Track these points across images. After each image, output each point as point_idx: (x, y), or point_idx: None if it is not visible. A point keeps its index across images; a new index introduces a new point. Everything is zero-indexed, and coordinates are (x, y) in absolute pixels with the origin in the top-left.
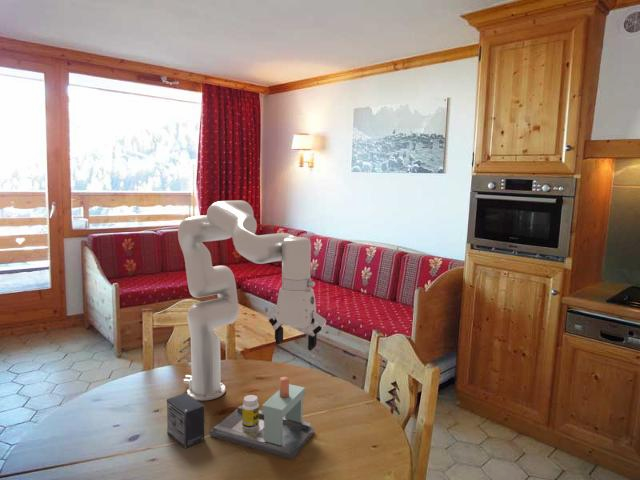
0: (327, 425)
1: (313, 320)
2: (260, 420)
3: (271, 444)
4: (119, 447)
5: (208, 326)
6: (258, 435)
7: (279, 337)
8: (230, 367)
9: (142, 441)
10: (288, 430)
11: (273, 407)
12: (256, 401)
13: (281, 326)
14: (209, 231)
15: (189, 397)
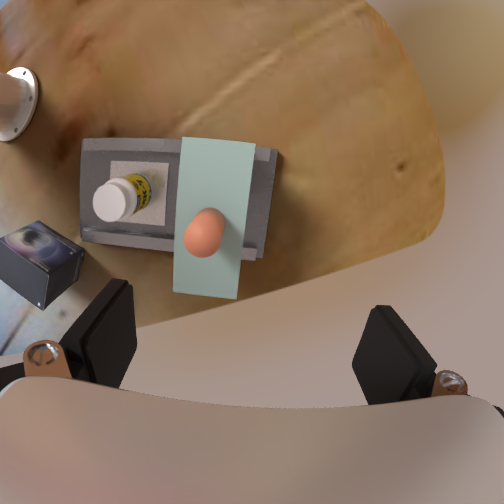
0: (298, 112)
1: (482, 410)
2: (147, 165)
3: None
4: (17, 300)
5: None
6: (168, 219)
7: (122, 358)
8: (25, 6)
9: None
10: None
11: (208, 294)
12: (127, 204)
13: (78, 377)
14: None
15: (12, 255)
